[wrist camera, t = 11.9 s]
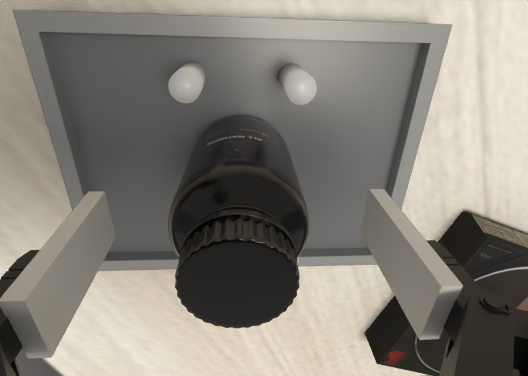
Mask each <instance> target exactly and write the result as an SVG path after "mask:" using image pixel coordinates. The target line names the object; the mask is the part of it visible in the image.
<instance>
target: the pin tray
mask: <svg viewBox="0 0 528 376" xmlns="http://www.w3.org/2000/svg"><path fill="white" fill-rule="evenodd" d="M13 13H14V16H15V20H16V23H17V26H18V30H19V33H20V36H21V40H22V43H23V46H24V50H25V53H26V56H27V60H28V63H29V66H30V70H31V73H32V76H33V80H34V83H35V86H36V90H37V93H38V96H39V100H40V103H41V106H42V110H43V113H44V116H45V120H46V123H47V126H48V130H49V133H50V136H51V140H52V143H53V146H54V150H55V153H56V156H57V160H58V163H59V166H60V170H61V173H62V176H63V180H64V183H65V186H66V190H67V193H68V196H69V200H70V203H71V206H72V210H74V208H75V207H76V206H77V205H78V204H79V202H80V201H81V200H82V199H83V197H84V196H85V195H86V194H87V193H88V192H102V191H105V194H106V198H107V202H108V207H109V211H110V215H111V219H112V223H113V227H114V231H115V235H116V238H115V240H114V242H113V244H112V246H111V247H110V249H109V251H108V253H107V255H106V257H105V259H104V260H103V262H102V264H101V266H100V268H99V270H98V271H120V270H163V269H177V266H178V263H179V257H178V255H177V254H176V252H175V250H174V248H173V246H172V243H171V240H170V237H169V231H168V218H169V213H170V209H171V205H172V202H173V199H174V197H175V194H176V192H177V189H178V187H179V184H180V181H181V179H182V176H183V174H184V171H185V169H186V166H187V164H188V161H189V158H190V156H191V153H192V151H193V149H194V146H195V144H196V142H197V140H198V139H199V137H200V136H201V135H202V133H203V132H204V131H205V130H206V129H207V128H208V127H210V126H211V125H212V124H214V123H216V122H218V121H220V120H222V119H225V118H229V117H236V116H245V117H252V118H256V119H259V120H261V121H263V122H265V123H267V124H269V125H270V126H272V127H273V128H274V129H275V130H276V131H277V132H278V133H279V134H280V135H281V137H282V138H283V140H284V141H285V143H286V145H287V148H288V150H289V153H290V156H291V159H292V162H293V165H294V168H295V172H296V175H297V178H298V181H299V184H300V187H301V191H302V194H303V197H304V200H305V203H306V207H307V211H308V217H309V233H308V238H307V241H306V244H305V246H304V248H303V250H302V252H301V254H300V256H299V257H298V258H297V265H298V266H336V265H378V264H377V262H376V261H375V259H374V257H373V255H372V253H371V252H370V250H369V248H368V246H367V244H366V243H365V241H364V239H363V237H362V235H361V233H360V230H361V225H362V221H363V216H364V211H365V207H366V202H367V198H368V193H369V189H384V190H385V191H386V192H387V194H388V195H389V196H390V197H391V198H392V200H393V201H394V202H395V203H396V204H397V206H398V207H399V208H400V209H402V205H403V201H404V198H405V194H406V190H407V187H408V183H409V180H410V176H411V172H412V169H413V165H414V161H415V158H416V154H417V151H418V147H419V143H420V140H421V136H422V132H423V129H424V125H425V122H426V118H427V114H428V111H429V107H430V103H431V100H432V96H433V93H434V89H435V85H436V82H437V78H438V74H439V71H440V67H441V64H442V60H443V56H444V53H445V49H446V45H447V42H448V38H449V35H450V31H451V27H452V24H427V23H398V22H368V21H338V20H309V19H279V18H249V17H219V16H190V15H160V14H130V13H101V12H71V11H41V10H13Z"/></svg>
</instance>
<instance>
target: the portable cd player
mask: <svg viewBox="0 0 528 376" xmlns="http://www.w3.org/2000/svg"><path fill="white" fill-rule="evenodd" d="M437 243H439V244H440V245H442V246H443V247H445V248H446V249H447V250H448V251H449V253H450V254H451V255H452V256H453V258H455V259H456V261H457V262H458V263H459V265H461V266H462V267H463V269H464V270H465V271H466V272H467V273H468V274H469V275H470V277H471V278H472V279H473V280H474V281H475V282H476V283H477V285H478V286H479V287H480V288H481V289H482V290H485V291H489V292H492V293H494V294H496V295H498V296H500V297H502V298H503V299H505V300H506V301H507V302H508V303H509V304H510V305H511V306H512V308H516V309H520V310H525V311H528V235H527V234H525V233H522V232H519V231H517V230H514V229H511V228H509V227H506V226H503V225H501V224H498V223H495V222H493V221H490V220H487V219H485V218H482V217H479V216H477V215H474V214H471V213H465V212H462V213H461V214H460V215H459V216H458V218H457V219H456V220H455V221H454V223H453V224H452V225H451V226H450V228H449V229H448V230H447V231H446V233H445V234H444V235H443V236H442V238H441V239H440V240H439V241H438V242H437ZM365 335H366V337H367V340H368V342H369V345H370V347H371V350H372V353H373V355H374V358H375V360H376V363H377V364H381V365H385V366H390V367H395V368H400V369H404V370H409V371H414V372H418V373H423V374H428V375H433V376H439V374H440V370H441V366H442V362H443V358H444V357H442V356H441V355H442V353H443V351H444V349H445V347H446V345H447V342H448V340H449V338H450V336H449V335H448V333H447V332H446V330H445V329H443V331H442V333H441V335H440V337H439V339H426V340H419V338H418V337H417V335H416V333H415V331H414V329H413V327H412V326H411V324H410V322H409V320H408V318H407V317H406V315H405V313H404V311H403V309H402V308H401V306H400V304H399V302H398V300H397V299H396V297H395V296H394V297H393V298H392V300H391V301H390V302H389V303H388V305H387V306H386V307H385V308H384V309H383V311H382V312H381V313H380V314H379V316H378V317H377V318H376V319H375V321H374V322H373V323H372V324H371V326H370V327H369V328H368V329H367V331H366V332H365Z"/></svg>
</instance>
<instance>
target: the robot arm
mask: <svg viewBox="0 0 528 376" xmlns="http://www.w3.org/2000/svg"><path fill="white" fill-rule="evenodd" d="M360 233H361V235H362V237H363V239H364V241H365V243H366V244H367V246H368V248H369V250H370V252H371V253H372V255H373V257H374V259H375V261H376V262H377V264H378V266H379V268H380V270H381V271H382V273H383V275H384V277H385V279H386V280H387V282H388V284H389V286H390V288H391V290H392V291H393V293H394V295H395V297H396V299H397V300H398V302H399V304H400V306H401V308H402V309H403V311H404V313H405V315H406V317H407V318H408V320H409V322H410V324H411V326H412V327H413V329H414V331H415V333H416V335H417V337H418V338H419V340H426V339H439V337H440V335H441V333H442V331H443V329H445V330H446V332H447V333H448V335H449V336H450V338H449V340H448V342H447V345H446V347H445V349H444V351H443V353H442V355H441V356H442V357H444V358H443V362H442V366H441V370H440V374H439V376H528V311H525V310H520V309H516V308H512V306H511V305H510V304H509V303H508V302H507V301H506V300H505V299H503V298H502V297H500V296H498V295H496V294H494V293H492V292H489V291H485V290H482V289H481V288H480V287H479V286H478V285H477V283H476V282H475V281H474V280H473V279H472V278H471V277H470V275H469V274H468V273H467V272H466V271H465V270H464V269H463V267H462V266H461V265H459V263H458V262H457V261H456V259H455V258H453V256H452V255H451V254H450V253H449V251H448V250H447V249H446V248H445V247H443V246H442V245H440V244H439V243H437V242H436V241H434V240H430V241H426V240H425V239H424V237H423V236H422V235H421V234H420V232H419V231H418V230H417V229H416V228H415V226H414V225H413V224H412V223H411V221H410V220H409V219H408V218H407V217H406V215H405V214H404V213H403V212H402V211H401V209H400V208H399V207H398V206H397V204H396V203H395V202H394V201H393V200H392V198H391V197H390V196H389V195H388V194H387V192H386V191H385V190H384V189H369V193H368V198H367V202H366V207H365V211H364V216H363V221H362V225H361V230H360ZM115 238H116V235H115V231H114V227H113V223H112V219H111V215H110V211H109V207H108V202H107V198H106V194H105V191H102V192H88V193H87V194H86V195H85V196H84V197H83V199H82V200H81V201H80V202H79V204H78V205H77V206H76V207H75V208H74V210H73V211H72V212H71V213H70V214H69V216H68V217H67V218H66V219H65V220H64V222H63V223H62V224H61V225H60V227H59V228H58V229H57V230H56V231H55V233H54V234H53V235H52V236H51V237H50V239H49V240H48V241H47V242H46V243H45V245H44V246H43V247H42V248H41V250H30V251H29V252H27V253H26V254H25V255H23V256H22V257H20V258H19V259H17V260H16V262H15V263H14V264H13V265H12V266H11V267H10V268H9V271H7V272H6V273H5V274H4V275H3V276H2V277H1V280H0V376H22V375H21V372H20V369H19V366H18V364H17V362H16V360H15V358H16V356H17V355H18V353H19V352H20V350H21V349H23V350H24V352H25V354H26V356H27V358H49V357H52V355H53V354H54V352H55V350H56V348H57V346H58V344H59V342H60V341H61V339H62V337H63V335H64V333H65V331H66V329H67V327H68V326H69V324H70V322H71V320H72V318H73V316H74V314H75V313H76V311H77V309H78V307H79V305H80V303H81V301H82V300H83V298H84V296H85V294H86V292H87V290H88V288H89V287H90V285H91V283H92V281H93V279H94V277H95V275H96V273H97V272H98V270H99V268H100V266H101V264H102V262H103V260H104V259H105V257H106V255H107V253H108V251H109V249H110V247H111V246H112V244H113V242H114V240H115Z"/></svg>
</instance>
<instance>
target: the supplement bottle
mask: <svg viewBox="0 0 528 376" xmlns="http://www.w3.org/2000/svg"><path fill="white" fill-rule="evenodd" d="M168 231H169V237H170V240H171V243H172V246H173V248H174V250H175V252H176V254H177V255H178V257H179V263H178V266H177V270H176V274H175V278H176V282H175V288H176V290H177V296H178V297H179V298H180V299H181V303H182V305H184V306H185V307H186V308H187V310H188V312H190V313H193V314H194V316H195V317H196V318H199V319H202V320H203V321H204V322H206V323H211V324H213V325H215V326H223V327H225V328H229V327H233V328H241V327H246V328H249V327H251V326H259V325H261V324H262V323H266V322H270V321H271V320H272V319H273V318H276V317H278V316H279V315H280V314H281V313H283V312H285V311H286V310H287V308H288V306H290V305H291V304H292V303H293V299H294V298H295V297H296V296H297V290H298V288H299V270H298V265H297V258H298V257H299V256H300V254H301V252H302V250H303V248H304V246H305V244H306V241H307V238H308V233H309V217H308V211H307V207H306V203H305V200H304V197H303V194H302V191H301V187H300V184H299V181H298V178H297V175H296V172H295V168H294V165H293V162H292V159H291V156H290V153H289V150H288V148H287V145H286V143H285V141H284V140H283V138H282V137H281V135H280V134H279V133H278V132H277V131H276V130H275V129H274V128H273V127H272V126H270V125H269V124H267V123H265V122H263V121H261V120H259V119H256V118H252V117H245V116H236V117H229V118H225V119H222V120H220V121H218V122H216V123H214V124H212V125H211V126H210V127H208V128H207V129H206V130H205V131H204V132H203V133H202V135H201V136H200V137H199V139H198V140H197V142H196V144H195V146H194V149H193V151H192V153H191V156H190V158H189V161H188V164H187V166H186V169H185V171H184V174H183V176H182V179H181V181H180V184H179V187H178V189H177V192H176V194H175V197H174V199H173V202H172V205H171V209H170V213H169V218H168Z"/></svg>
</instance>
